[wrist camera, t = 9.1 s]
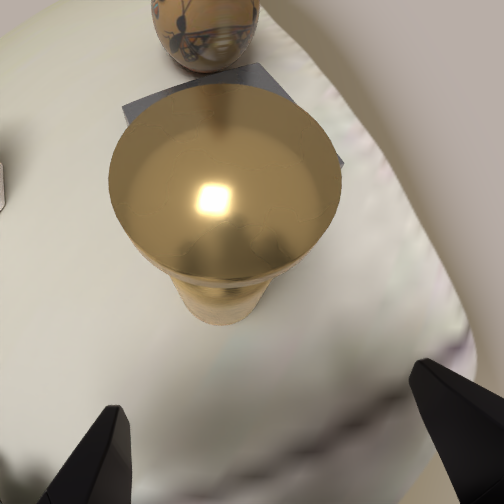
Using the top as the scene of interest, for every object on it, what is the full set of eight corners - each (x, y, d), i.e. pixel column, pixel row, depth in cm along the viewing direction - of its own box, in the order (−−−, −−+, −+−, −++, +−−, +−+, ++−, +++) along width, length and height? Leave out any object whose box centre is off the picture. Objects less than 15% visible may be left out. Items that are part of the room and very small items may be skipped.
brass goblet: (286, 300, 20) (384, 201, 8) (204, 352, 18) (177, 330, 6) (235, 224, 21) (258, 64, 9) (156, 269, 20) (81, 136, 8)
